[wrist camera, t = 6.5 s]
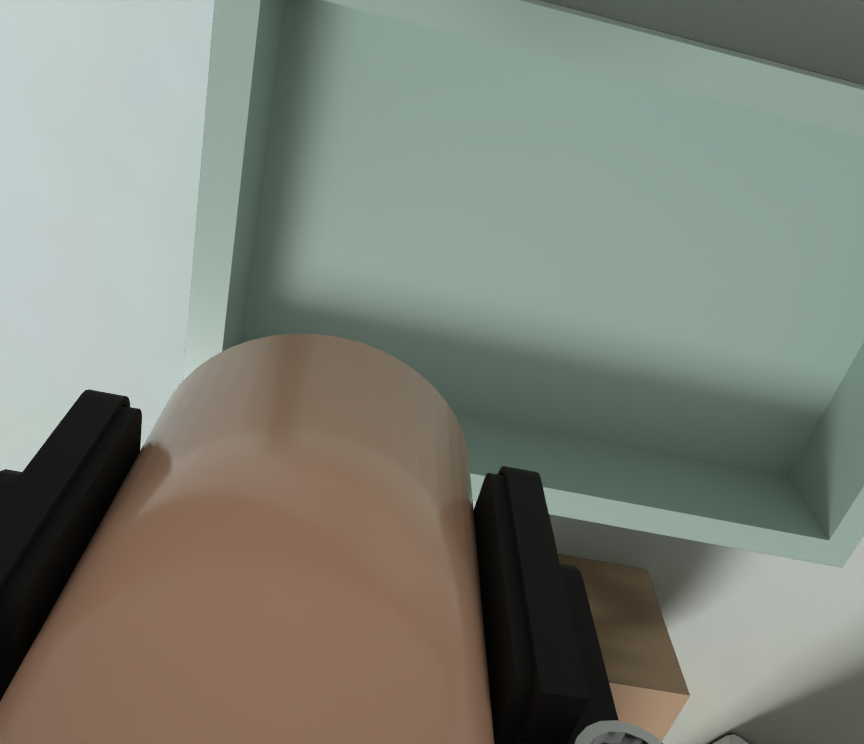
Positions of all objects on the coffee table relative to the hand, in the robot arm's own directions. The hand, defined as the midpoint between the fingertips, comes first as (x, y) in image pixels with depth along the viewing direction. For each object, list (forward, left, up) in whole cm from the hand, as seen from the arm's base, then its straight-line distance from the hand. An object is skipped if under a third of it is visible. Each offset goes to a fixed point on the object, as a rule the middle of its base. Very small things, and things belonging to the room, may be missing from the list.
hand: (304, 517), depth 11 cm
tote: (-7, 0, -14) cm, 16 cm away
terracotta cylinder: (0, 0, -1) cm, 1 cm away
